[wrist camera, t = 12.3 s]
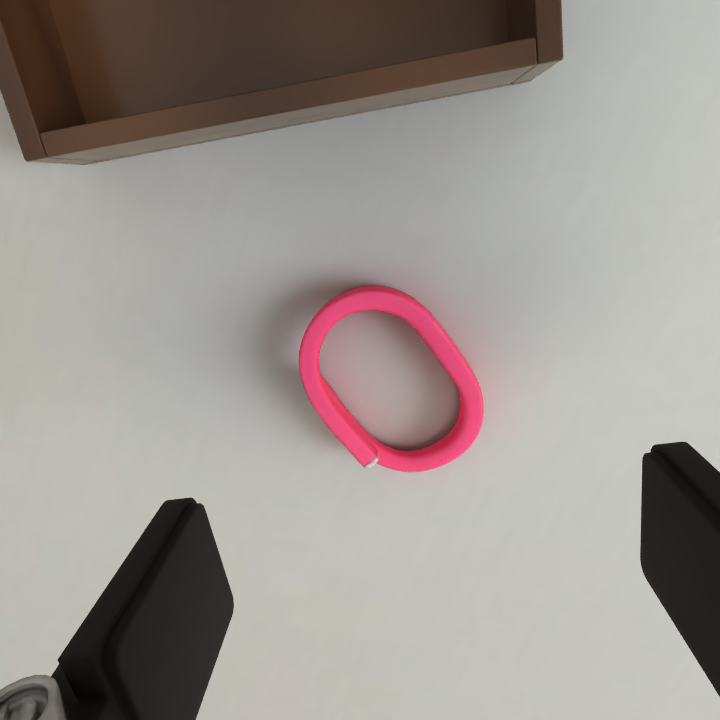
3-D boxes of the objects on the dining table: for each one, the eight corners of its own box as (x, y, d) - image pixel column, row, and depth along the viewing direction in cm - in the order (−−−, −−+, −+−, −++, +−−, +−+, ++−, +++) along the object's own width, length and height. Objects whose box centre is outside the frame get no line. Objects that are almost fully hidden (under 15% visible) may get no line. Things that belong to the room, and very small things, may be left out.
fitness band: (271, 341, 21) (263, 353, 19) (390, 253, 19) (391, 258, 18) (390, 485, 23) (391, 505, 21) (505, 413, 21) (515, 430, 20)
